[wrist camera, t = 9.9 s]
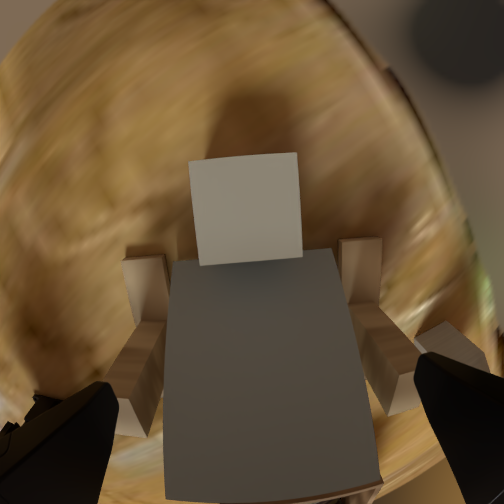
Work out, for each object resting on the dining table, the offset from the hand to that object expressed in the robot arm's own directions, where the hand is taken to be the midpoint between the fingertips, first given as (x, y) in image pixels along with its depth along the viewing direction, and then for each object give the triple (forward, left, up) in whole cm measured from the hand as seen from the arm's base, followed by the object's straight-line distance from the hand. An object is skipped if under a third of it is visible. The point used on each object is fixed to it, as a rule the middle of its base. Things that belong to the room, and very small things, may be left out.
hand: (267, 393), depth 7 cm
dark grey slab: (-7, 0, -8) cm, 11 cm away
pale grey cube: (+1, 0, -10) cm, 10 cm away
